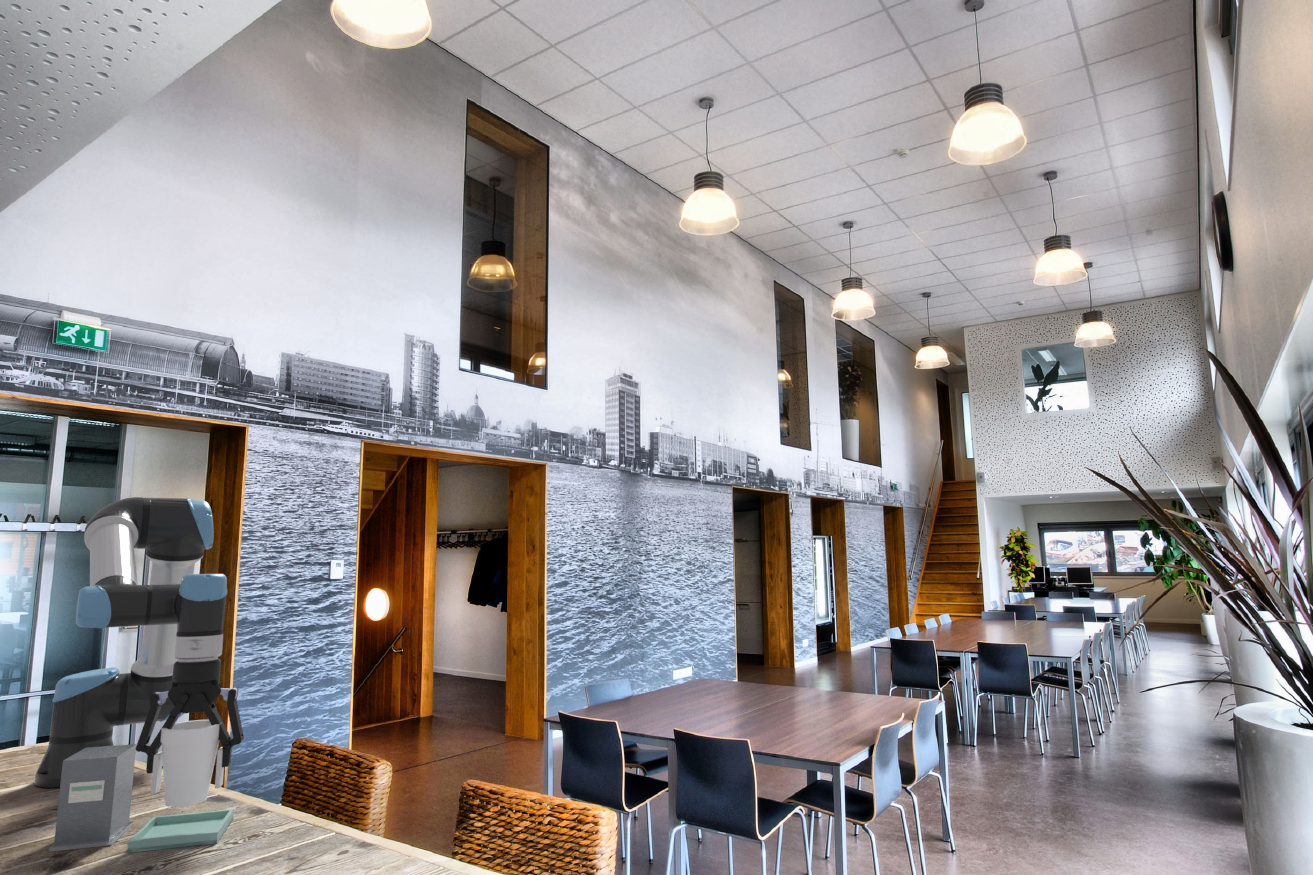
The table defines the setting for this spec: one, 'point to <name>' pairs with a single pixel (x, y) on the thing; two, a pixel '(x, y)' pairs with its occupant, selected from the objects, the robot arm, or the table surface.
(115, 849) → the table surface
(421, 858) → the table surface
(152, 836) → the tray
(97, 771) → the unit
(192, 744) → the foam cup
